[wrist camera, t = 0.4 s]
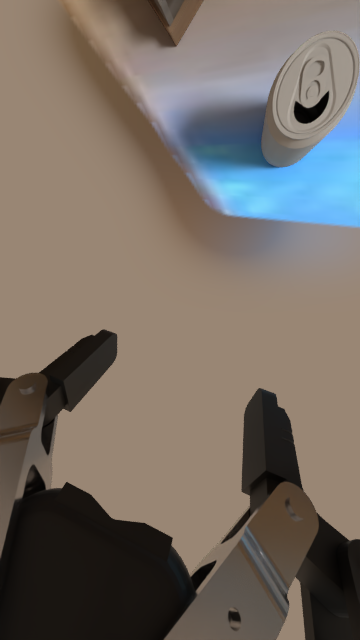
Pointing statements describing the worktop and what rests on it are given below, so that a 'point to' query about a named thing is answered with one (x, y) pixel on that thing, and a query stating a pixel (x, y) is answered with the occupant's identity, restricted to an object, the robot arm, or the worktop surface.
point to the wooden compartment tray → (175, 15)
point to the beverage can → (309, 97)
